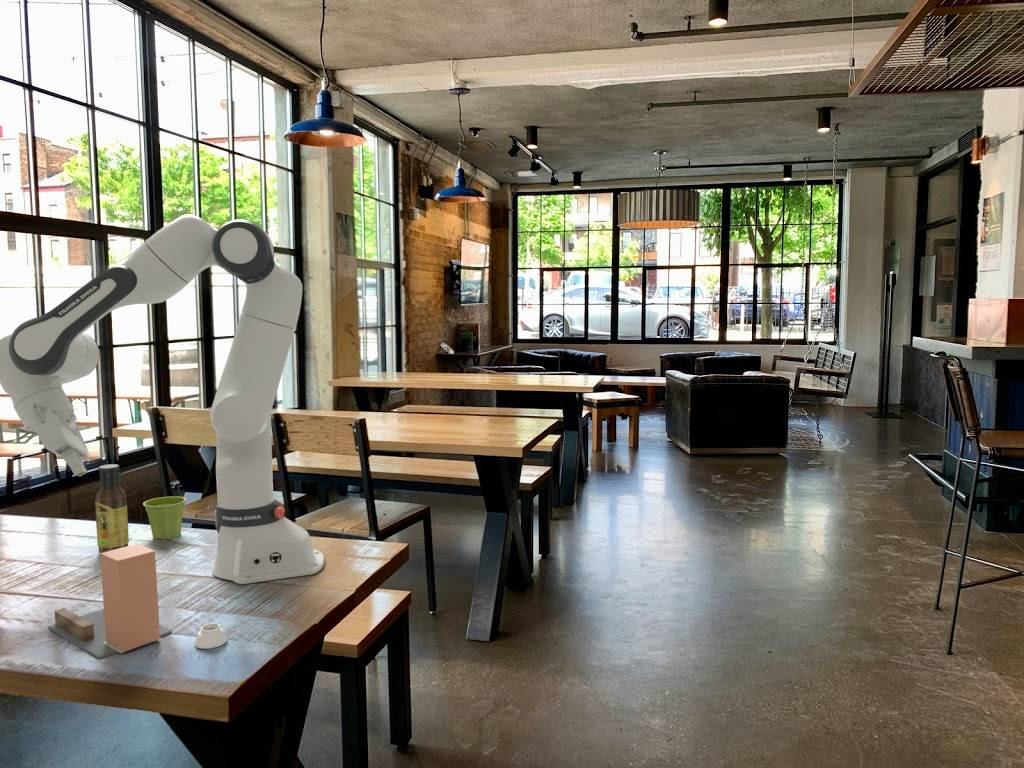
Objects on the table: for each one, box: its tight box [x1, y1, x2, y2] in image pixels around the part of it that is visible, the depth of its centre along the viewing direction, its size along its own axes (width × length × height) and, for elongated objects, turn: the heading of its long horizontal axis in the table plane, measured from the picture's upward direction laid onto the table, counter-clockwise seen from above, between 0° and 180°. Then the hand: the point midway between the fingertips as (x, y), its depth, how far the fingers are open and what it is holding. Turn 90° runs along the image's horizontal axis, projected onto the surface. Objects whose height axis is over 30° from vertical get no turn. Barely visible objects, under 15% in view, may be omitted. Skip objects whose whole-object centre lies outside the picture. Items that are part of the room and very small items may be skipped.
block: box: [99, 543, 161, 653], centre depth 127 cm, size 6×6×15 cm
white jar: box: [194, 622, 228, 650], centre depth 128 cm, size 5×3×5 cm
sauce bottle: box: [94, 463, 130, 554], centre depth 173 cm, size 6×6×20 cm
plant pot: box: [142, 496, 187, 541], centre depth 185 cm, size 9×9×9 cm
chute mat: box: [47, 608, 173, 660], centre depth 133 cm, size 20×12×1 cm, turn 52°
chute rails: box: [54, 607, 94, 642], centre depth 135 cm, size 11×10×2 cm
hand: (81, 473), depth 149 cm, fingers closed
